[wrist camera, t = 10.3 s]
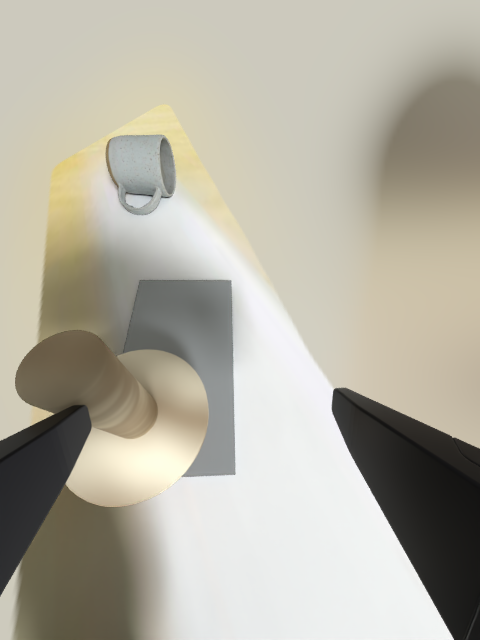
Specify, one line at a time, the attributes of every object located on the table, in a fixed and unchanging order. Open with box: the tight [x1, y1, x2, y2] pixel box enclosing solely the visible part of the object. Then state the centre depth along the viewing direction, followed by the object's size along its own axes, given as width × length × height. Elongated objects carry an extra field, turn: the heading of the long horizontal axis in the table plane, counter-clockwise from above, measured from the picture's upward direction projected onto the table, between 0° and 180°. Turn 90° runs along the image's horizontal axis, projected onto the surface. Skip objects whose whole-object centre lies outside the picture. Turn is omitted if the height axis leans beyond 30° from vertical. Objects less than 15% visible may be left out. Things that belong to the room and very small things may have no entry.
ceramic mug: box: [106, 135, 176, 215], centre depth 34 cm, size 11×8×8 cm
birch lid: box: [15, 330, 209, 507], centre depth 13 cm, size 10×10×10 cm
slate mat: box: [123, 280, 235, 477], centre depth 24 cm, size 20×11×1 cm, turn 2°
